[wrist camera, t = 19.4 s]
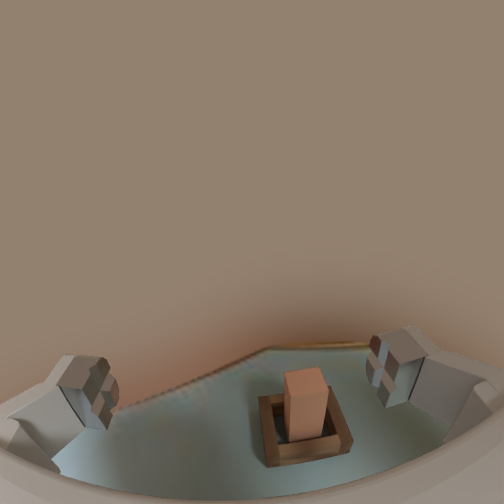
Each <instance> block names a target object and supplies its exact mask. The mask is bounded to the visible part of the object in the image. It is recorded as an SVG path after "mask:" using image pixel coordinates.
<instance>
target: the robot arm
mask: <svg viewBox="0 0 504 504" xmlns="http://www.w3.org/2000/svg"><path fill="white" fill-rule="evenodd" d="M369 347H370V348H371V350H372V352H371V353H370V355H369V356H368V357H367V361H366V374H367V377H368V380H369V382H370V384H371V385H372V386H375V387H377V388H378V392H377V396H378V397H379V399H380V401H381V402H382V404H383V406H384V408H388V407H392V406H395V405H398V404H401V403H404V402H407V401H409V402H408V403H410V404H412V405H413V406H415V407H417V408H418V409H420V410H422V411H423V412H425V413H427V414H428V415H430V416H432V417H434V418H435V419H437V420H439V421H440V422H442V423H444V424H446V425H447V426H449V427H451V428H450V429H449V431H448V432H447V434H446V435H445V437H444V439H443V441H442V442H443V443H444V445H442V446H440V447H438V448H436V449H434V450H432V451H430V452H428V453H426V454H424V455H422V456H419V457H417V458H415V459H413V460H410V461H408V462H406V463H403V464H401V465H398V466H396V467H393V468H391V469H388V470H385V471H383V472H380V473H377V474H374V475H371V476H368V477H365V478H362V479H359V480H355V481H352V482H348V483H345V484H341V485H337V486H333V487H329V488H324V489H320V490H315V491H310V492H305V493H299V494H293V495H286V496H279V497H271V498H261V499H248V500H223V501H209V500H184V499H172V498H162V497H154V496H147V495H140V494H134V493H129V492H123V491H118V490H114V489H109V488H105V487H101V486H97V485H93V484H90V483H86V482H83V481H79V480H76V479H73V478H70V477H67V476H64V475H61V474H60V472H61V471H60V469H59V467H58V466H57V465H56V464H55V463H54V462H53V461H52V460H51V458H53V457H54V456H55V455H56V454H57V453H58V452H59V451H60V450H62V449H63V448H64V447H65V446H66V445H67V444H68V443H69V442H70V441H72V440H73V439H74V438H75V437H76V436H77V435H78V434H79V433H80V432H82V431H83V430H84V429H85V427H88V428H94V429H101V430H107V429H108V426H109V424H110V421H111V418H112V416H113V415H112V413H111V409H112V408H114V407H115V406H116V405H117V402H118V399H119V388H118V384H117V381H116V379H115V378H114V377H113V376H112V375H111V374H109V370H110V366H109V364H108V362H107V360H106V359H105V358H103V357H93V356H82V355H71V354H66V355H63V356H62V358H61V359H60V360H59V362H58V363H57V365H56V366H55V367H54V369H53V370H52V372H51V373H50V374H49V376H48V377H47V379H46V380H45V382H44V383H39V384H37V385H35V386H33V387H32V388H30V389H28V390H26V391H24V392H22V393H21V394H19V395H17V396H15V397H13V398H11V399H10V400H8V401H6V402H4V403H2V404H0V504H504V369H503V368H500V367H497V366H493V365H490V364H487V363H483V362H481V361H477V360H475V359H471V358H468V357H465V356H462V355H459V354H456V353H453V352H450V351H447V350H443V351H441V350H440V349H439V348H438V347H437V346H436V345H435V344H434V343H433V342H432V341H431V340H430V339H429V338H428V337H427V336H426V335H425V334H424V333H423V332H422V331H421V330H420V329H419V328H418V327H417V326H414V325H411V326H407V327H404V328H401V329H398V330H394V331H390V332H386V333H382V334H377V335H373V336H372V338H371V340H370V345H369Z"/></svg>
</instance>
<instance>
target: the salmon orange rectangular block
mask: <svg viewBox="0 0 504 504" xmlns="http://www.w3.org/2000/svg"><path fill="white" fill-rule="evenodd" d="M328 393H329V389H328V387H327V385H326V382H325V380H324V377H323V375H322V372H321V370H320V368H319V367H315V368H308V369H302V370H295V371H288V372H284V425H285V430H286V434H287V439H288V444H289V443H296V442H302V441H307V440H313V439H318V438H321V434H322V428H323V423H324V417H325V412H326V406H327V399H328Z"/></svg>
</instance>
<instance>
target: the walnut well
mask: <svg viewBox="0 0 504 504" xmlns="http://www.w3.org/2000/svg"><path fill="white" fill-rule="evenodd" d="M328 389H329V393H328V399H327V406H326V412H325V417H324V418H325V421H326V424H327V427H328V430H329V433H330V435H331V436H327V437H323V438H318V439H313V440H307V441H302V442H296V443H289V444H282V445H278V441H277V436H276V430H275V424H274V418H273V416H281V415H284V394H278V395H270V396H261V397H258V398H259V410H260V418H261V425H262V433H263V441H264V448H265V456H266V463H267V468H269V467H277V466H285V465H291V464H298V463H303V462H309V461H314V460H319V459H324V458H328V457H333V456H337V455H341V454H345V453H348V452H349V451H350V448H351V446H352V443H353V438H352V436H351V433H350V431H349V428H348V426H347V424H346V421H345V419H344V416H343V414H342V412H341V409H340V407H339V404H338V402H337V400H336V397H335V395H334V393H333V390H332V388H331V386H328Z"/></svg>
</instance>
